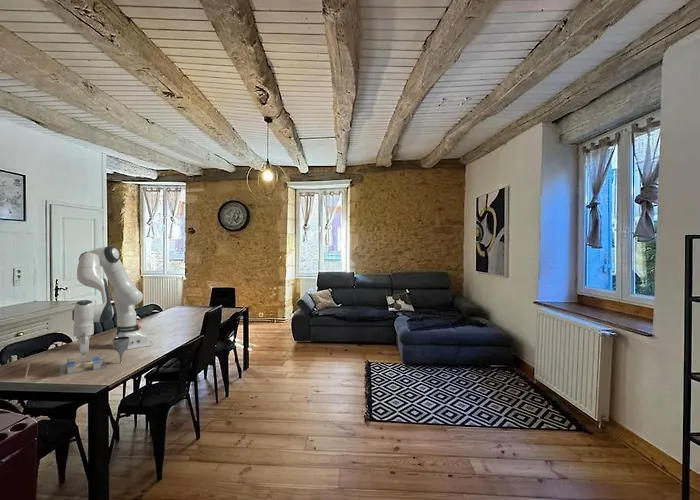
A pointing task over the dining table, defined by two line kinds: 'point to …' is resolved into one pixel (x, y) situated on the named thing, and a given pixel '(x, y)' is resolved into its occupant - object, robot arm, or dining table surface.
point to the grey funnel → (120, 345)
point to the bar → (83, 366)
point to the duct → (71, 362)
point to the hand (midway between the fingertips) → (83, 357)
